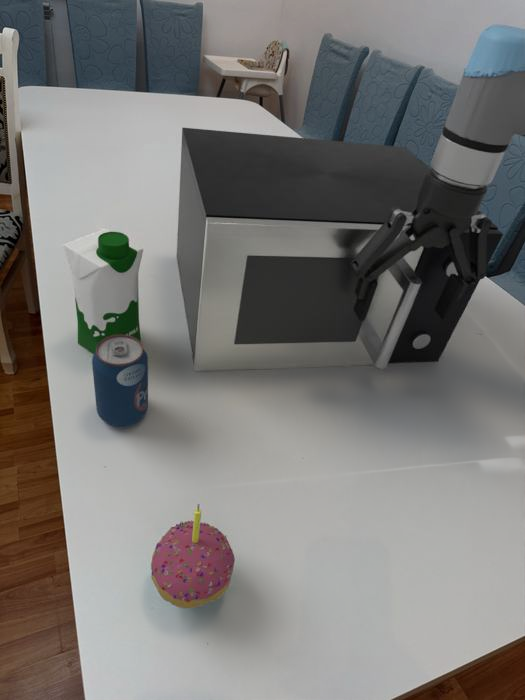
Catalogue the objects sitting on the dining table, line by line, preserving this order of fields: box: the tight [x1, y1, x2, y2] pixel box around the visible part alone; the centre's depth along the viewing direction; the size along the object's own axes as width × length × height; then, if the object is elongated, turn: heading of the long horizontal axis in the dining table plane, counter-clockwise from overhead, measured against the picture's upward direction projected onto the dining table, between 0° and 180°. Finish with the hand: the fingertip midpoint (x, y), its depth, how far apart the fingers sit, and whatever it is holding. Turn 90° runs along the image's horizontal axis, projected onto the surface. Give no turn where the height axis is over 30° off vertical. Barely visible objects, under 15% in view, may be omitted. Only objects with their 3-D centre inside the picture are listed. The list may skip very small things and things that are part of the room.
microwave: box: [176, 127, 504, 364], centre depth 88 cm, size 35×44×26 cm
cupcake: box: [150, 503, 236, 609], centre depth 50 cm, size 9×8×12 cm
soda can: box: [91, 335, 149, 429], centre depth 66 cm, size 7×7×12 cm
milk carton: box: [62, 228, 144, 355], centre depth 74 cm, size 9×9×20 cm
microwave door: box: [193, 217, 424, 372], centre depth 73 cm, size 8×32×26 cm, turn 102°
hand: (400, 315), depth 74 cm, fingers open, 13 cm apart
